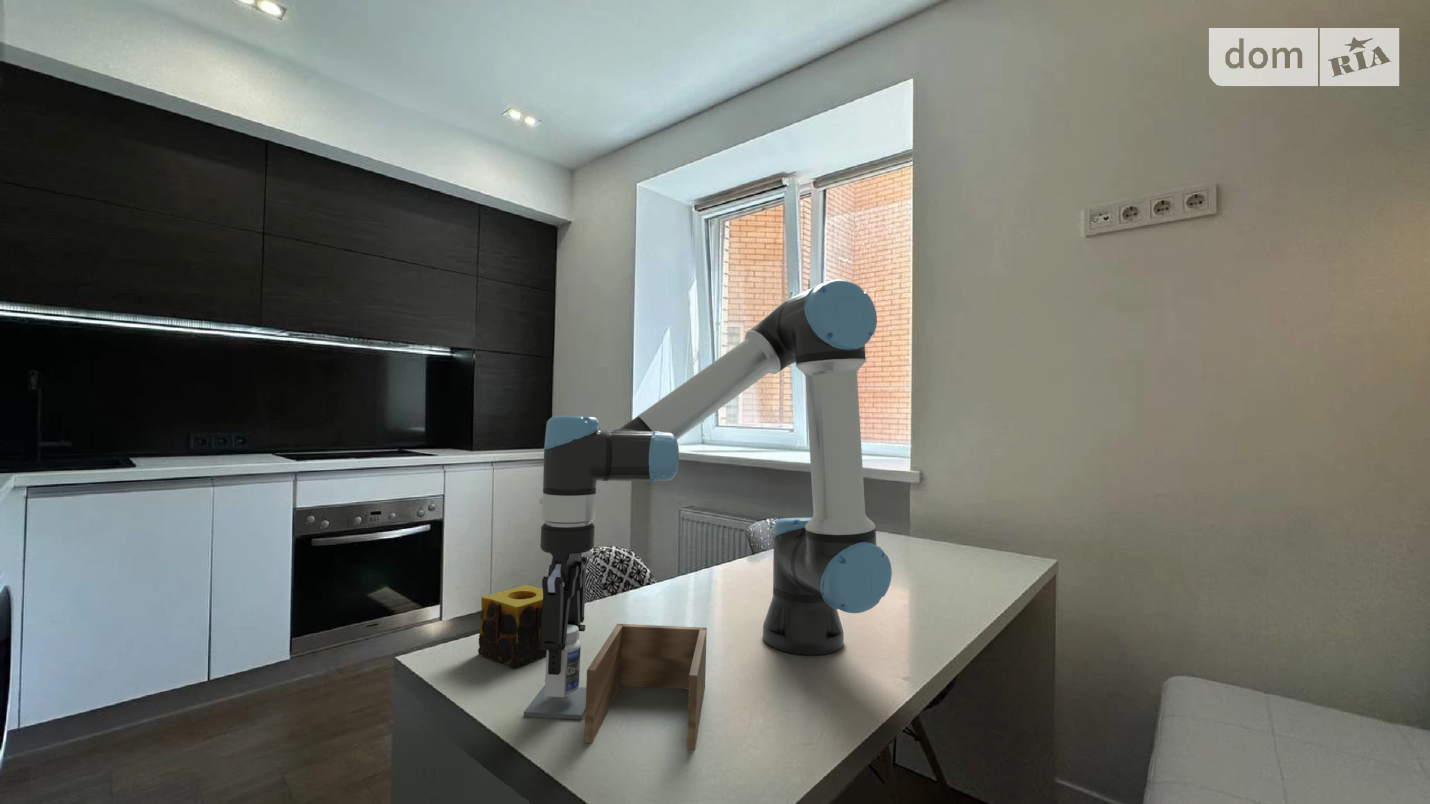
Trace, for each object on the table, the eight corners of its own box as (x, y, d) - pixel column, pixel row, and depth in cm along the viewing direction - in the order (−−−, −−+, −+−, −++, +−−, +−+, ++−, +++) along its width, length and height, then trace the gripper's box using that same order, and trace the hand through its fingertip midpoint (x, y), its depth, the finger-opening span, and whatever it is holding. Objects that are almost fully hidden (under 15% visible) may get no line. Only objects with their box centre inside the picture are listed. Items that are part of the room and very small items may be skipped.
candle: (514, 670, 93) (517, 608, 93) (475, 655, 98) (478, 596, 99) (562, 650, 101) (564, 593, 102) (524, 638, 107) (526, 583, 107)
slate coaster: (596, 692, 86) (596, 688, 86) (581, 719, 78) (581, 714, 78) (544, 689, 86) (544, 685, 86) (523, 716, 78) (523, 711, 78)
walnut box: (705, 687, 88) (706, 627, 89) (695, 749, 71) (697, 675, 72) (615, 682, 89) (617, 623, 90) (584, 742, 72) (586, 669, 73)
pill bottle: (570, 697, 79) (572, 636, 80) (538, 693, 80) (541, 632, 81) (584, 682, 84) (586, 624, 84) (554, 679, 85) (557, 621, 85)
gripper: (562, 512, 92) (556, 659, 91) (518, 532, 74) (510, 716, 73) (608, 514, 92) (603, 662, 91) (575, 535, 74) (568, 719, 73)
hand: (561, 686), depth 82 cm, fingers closed on pill bottle, 5 cm apart
